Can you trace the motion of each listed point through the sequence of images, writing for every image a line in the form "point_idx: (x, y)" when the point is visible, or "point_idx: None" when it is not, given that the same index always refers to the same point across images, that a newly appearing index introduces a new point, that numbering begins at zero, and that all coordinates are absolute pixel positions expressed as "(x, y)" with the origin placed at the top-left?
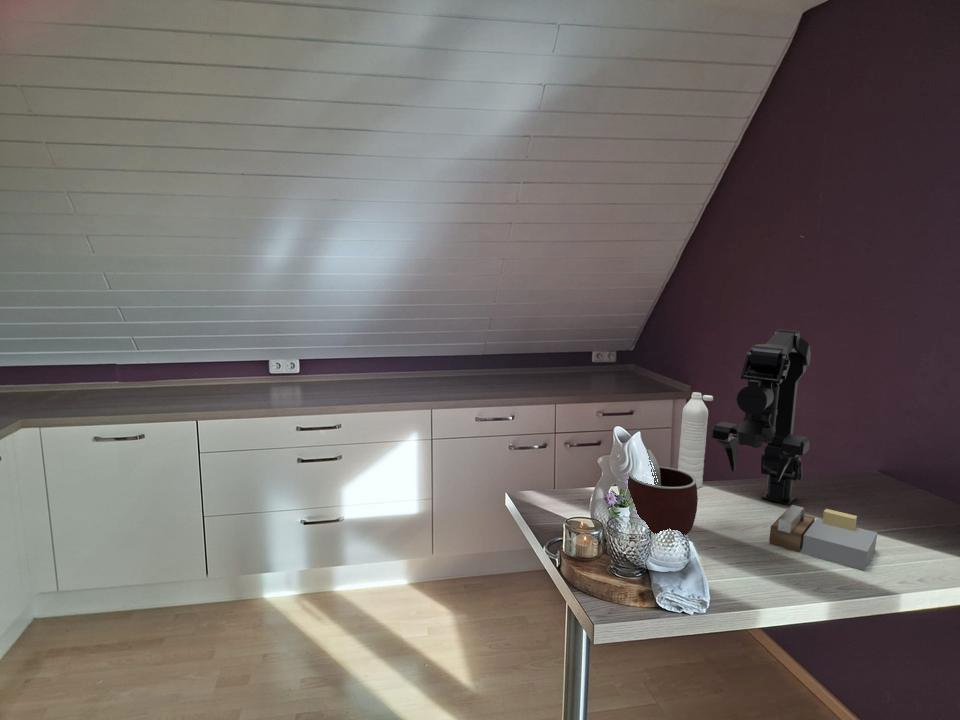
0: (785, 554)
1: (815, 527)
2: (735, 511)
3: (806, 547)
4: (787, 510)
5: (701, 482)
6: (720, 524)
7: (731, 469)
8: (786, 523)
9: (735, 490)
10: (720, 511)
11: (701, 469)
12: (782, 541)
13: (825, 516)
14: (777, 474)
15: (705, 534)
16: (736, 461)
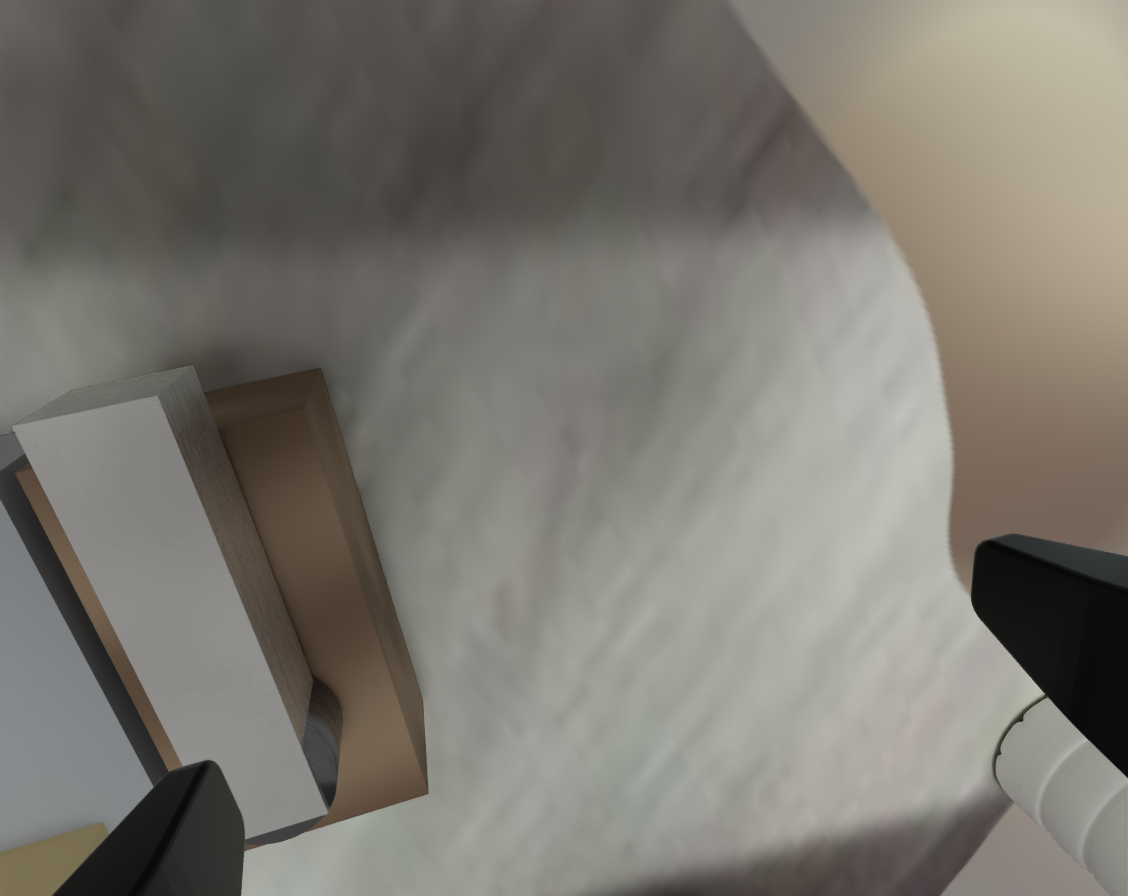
0: (125, 294)
1: (64, 707)
2: (731, 650)
3: (9, 445)
4: (266, 674)
5: (1016, 782)
6: (711, 393)
7: (1045, 540)
8: (82, 408)
9: (845, 873)
10: (794, 576)
11: (1096, 845)
12: (211, 402)
13: (57, 885)
14: (115, 894)
15: (709, 127)
16: (1124, 754)
